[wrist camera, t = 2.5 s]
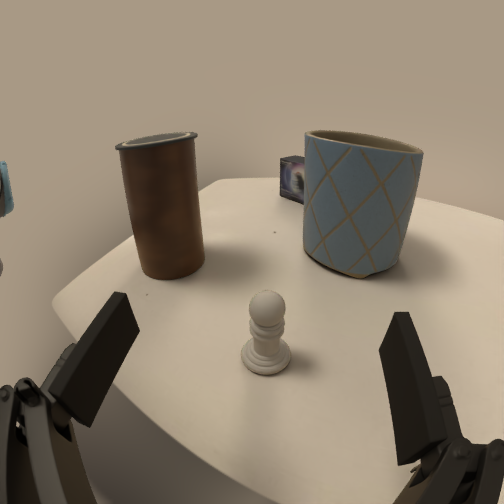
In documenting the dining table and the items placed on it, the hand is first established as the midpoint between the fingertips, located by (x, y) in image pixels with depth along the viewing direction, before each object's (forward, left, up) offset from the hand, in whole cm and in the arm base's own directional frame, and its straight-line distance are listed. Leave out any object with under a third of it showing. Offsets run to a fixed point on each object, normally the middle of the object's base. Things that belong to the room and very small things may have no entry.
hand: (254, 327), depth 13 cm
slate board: (-8, +31, +5) cm, 33 cm away
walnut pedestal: (-8, +31, -15) cm, 36 cm away
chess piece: (+3, +9, -15) cm, 18 cm away
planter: (+23, +28, -15) cm, 39 cm away
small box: (+23, +55, -15) cm, 62 cm away
